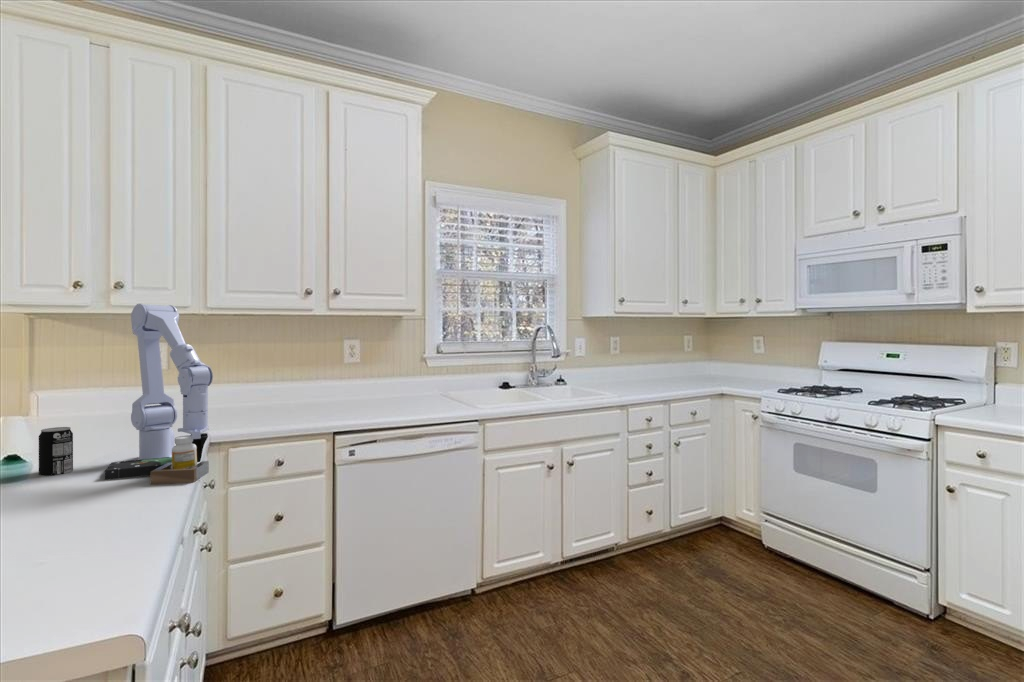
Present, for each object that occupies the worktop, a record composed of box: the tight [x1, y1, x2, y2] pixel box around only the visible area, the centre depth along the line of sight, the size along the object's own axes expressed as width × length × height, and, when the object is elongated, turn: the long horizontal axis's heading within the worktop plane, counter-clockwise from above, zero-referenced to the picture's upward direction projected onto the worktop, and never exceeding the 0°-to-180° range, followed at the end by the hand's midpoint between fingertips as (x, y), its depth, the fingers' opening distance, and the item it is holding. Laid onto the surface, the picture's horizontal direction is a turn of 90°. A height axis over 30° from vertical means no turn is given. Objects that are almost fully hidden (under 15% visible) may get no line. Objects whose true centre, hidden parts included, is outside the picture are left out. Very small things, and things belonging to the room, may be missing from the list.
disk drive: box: [104, 457, 172, 481], centre depth 137 cm, size 10×3×15 cm
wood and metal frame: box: [149, 460, 210, 485], centre depth 132 cm, size 10×10×3 cm
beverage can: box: [38, 426, 74, 477], centre depth 134 cm, size 7×7×12 cm
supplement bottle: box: [172, 434, 198, 469], centre depth 135 cm, size 5×5×10 cm
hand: (195, 462), depth 141 cm, fingers closed
